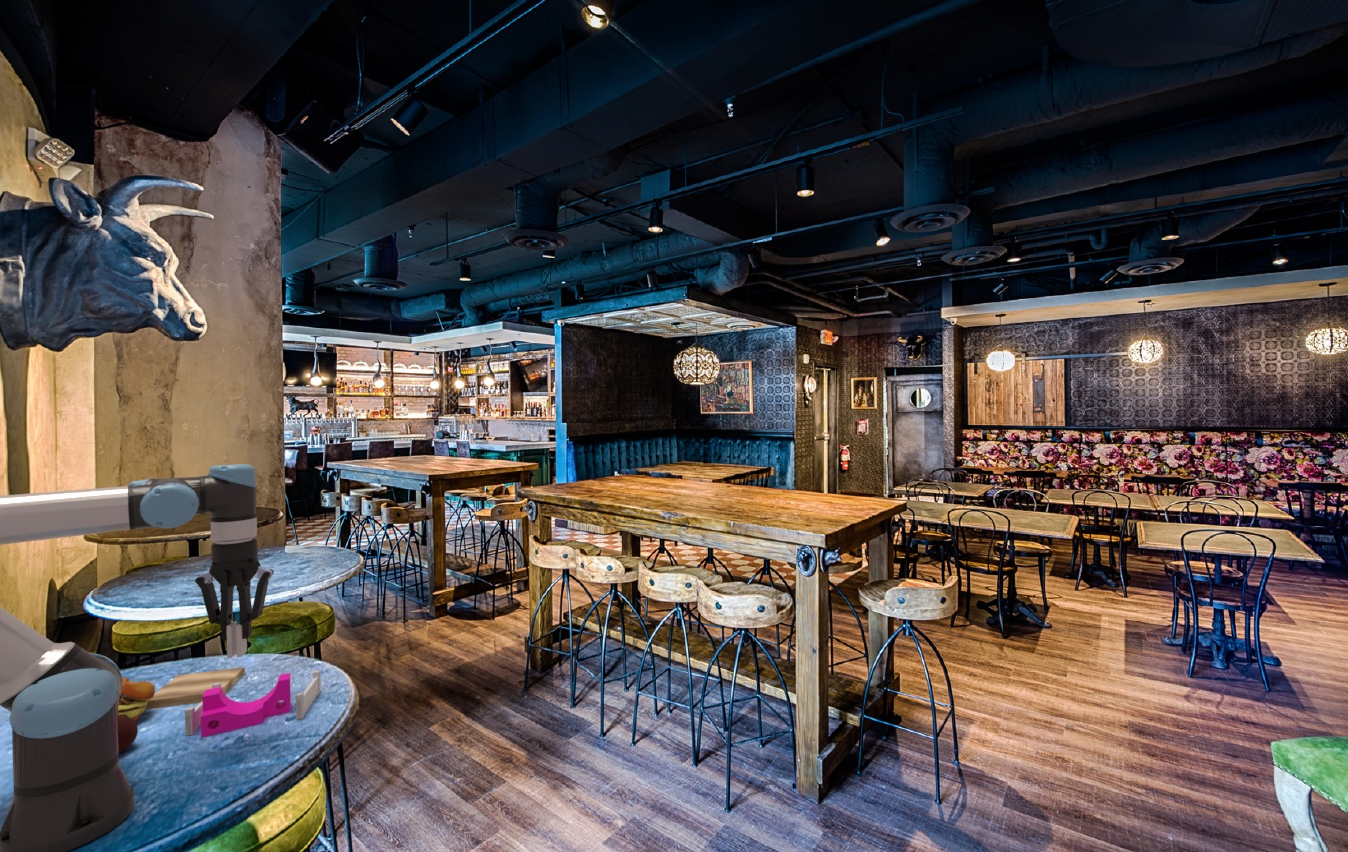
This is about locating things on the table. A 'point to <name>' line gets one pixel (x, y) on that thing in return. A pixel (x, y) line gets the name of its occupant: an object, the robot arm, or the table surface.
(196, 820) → the table surface
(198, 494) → the robot arm
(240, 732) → the table surface
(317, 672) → the grey bracket pieces
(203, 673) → the board
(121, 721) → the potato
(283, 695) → the toy block
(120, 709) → the cheeseburger
